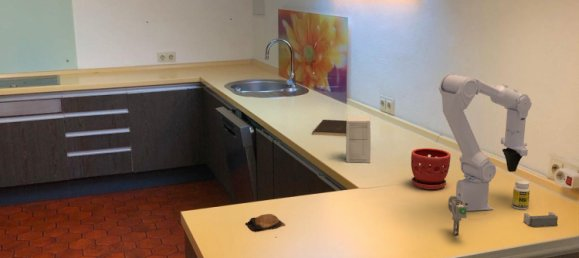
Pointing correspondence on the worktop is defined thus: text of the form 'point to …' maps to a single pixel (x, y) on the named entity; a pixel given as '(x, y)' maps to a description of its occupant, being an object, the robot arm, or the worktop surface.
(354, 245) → the worktop surface
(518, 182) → the supplement bottle
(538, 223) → the jig
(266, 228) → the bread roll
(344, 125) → the hardcover book
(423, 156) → the plant pot
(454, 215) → the mechanical component
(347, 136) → the beige miniature cabinet
